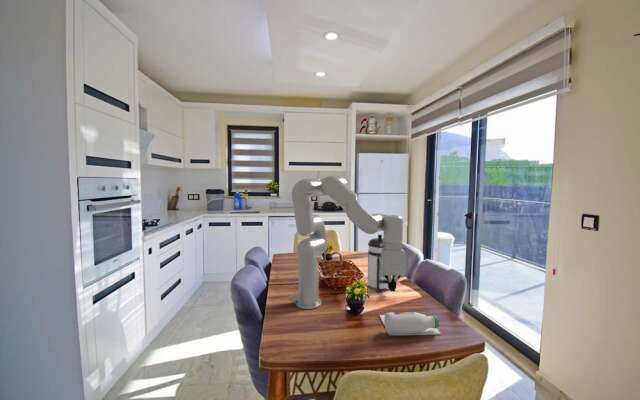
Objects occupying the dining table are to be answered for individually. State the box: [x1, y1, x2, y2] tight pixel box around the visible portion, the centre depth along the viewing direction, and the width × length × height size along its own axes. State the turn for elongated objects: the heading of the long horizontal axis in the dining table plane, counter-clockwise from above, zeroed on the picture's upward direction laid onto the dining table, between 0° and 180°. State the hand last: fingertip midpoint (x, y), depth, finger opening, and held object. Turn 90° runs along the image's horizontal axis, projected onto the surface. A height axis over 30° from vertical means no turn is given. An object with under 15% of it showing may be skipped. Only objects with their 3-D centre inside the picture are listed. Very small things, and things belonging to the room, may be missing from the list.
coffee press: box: [366, 234, 393, 294], centre depth 159 cm, size 17×16×30 cm
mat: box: [379, 313, 442, 337], centre depth 120 cm, size 20×16×1 cm
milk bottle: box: [383, 311, 440, 335], centre depth 113 cm, size 8×8×20 cm
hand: (391, 290), depth 119 cm, fingers closed
